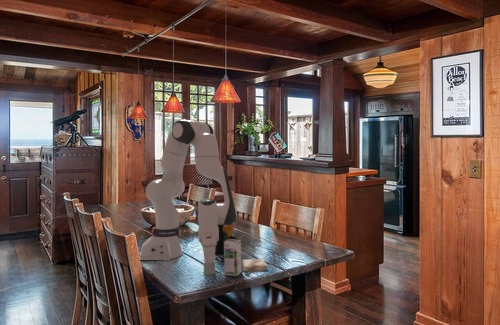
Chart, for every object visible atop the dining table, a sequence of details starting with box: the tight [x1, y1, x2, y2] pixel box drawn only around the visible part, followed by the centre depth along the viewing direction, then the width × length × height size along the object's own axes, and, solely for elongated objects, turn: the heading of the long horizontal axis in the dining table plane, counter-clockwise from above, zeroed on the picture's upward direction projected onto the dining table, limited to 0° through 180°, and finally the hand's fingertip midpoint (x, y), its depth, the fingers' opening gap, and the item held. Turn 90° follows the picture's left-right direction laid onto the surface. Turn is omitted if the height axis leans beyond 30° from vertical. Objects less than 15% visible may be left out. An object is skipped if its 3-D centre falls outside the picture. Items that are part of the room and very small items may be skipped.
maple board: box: [241, 258, 268, 272], centre depth 176 cm, size 10×10×2 cm
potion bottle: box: [215, 225, 229, 256], centre depth 198 cm, size 8×8×18 cm
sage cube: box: [203, 258, 216, 275], centre depth 171 cm, size 5×5×5 cm
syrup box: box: [223, 238, 242, 277], centre depth 168 cm, size 6×6×14 cm
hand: (209, 268), depth 171 cm, fingers open, 5 cm apart
